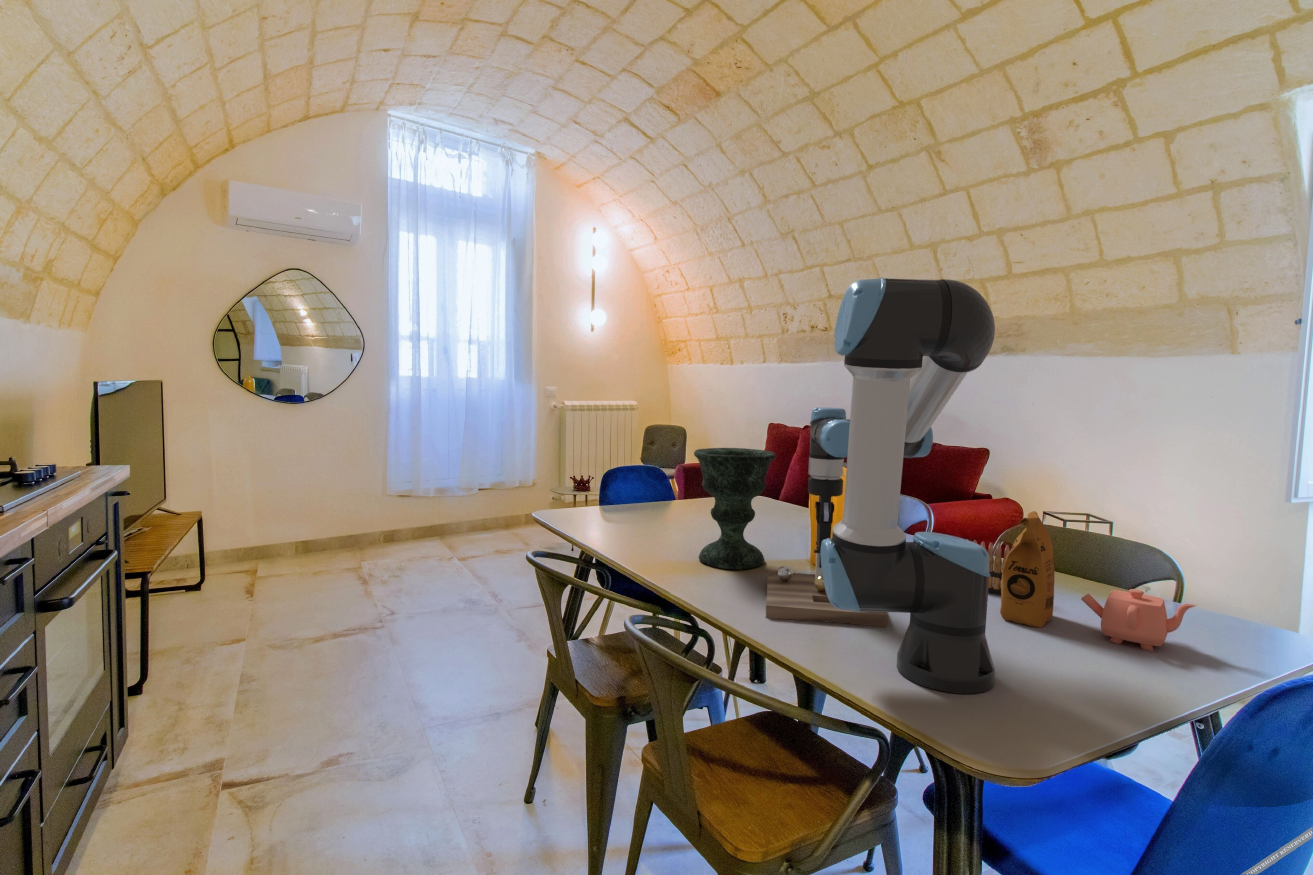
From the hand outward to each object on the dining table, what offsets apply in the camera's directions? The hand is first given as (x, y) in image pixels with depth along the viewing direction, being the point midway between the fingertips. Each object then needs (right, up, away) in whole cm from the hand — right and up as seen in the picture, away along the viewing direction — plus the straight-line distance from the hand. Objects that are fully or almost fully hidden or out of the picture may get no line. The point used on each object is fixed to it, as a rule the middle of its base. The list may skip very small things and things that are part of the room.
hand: (821, 580), depth 151 cm
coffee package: (+41, -6, -9) cm, 42 cm away
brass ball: (0, 0, -2) cm, 3 cm away
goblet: (-17, -2, +32) cm, 36 cm away
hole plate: (0, -4, -2) cm, 5 cm away
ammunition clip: (+41, -5, +9) cm, 42 cm away
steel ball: (-7, +1, +5) cm, 9 cm away
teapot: (+55, -7, -22) cm, 59 cm away
